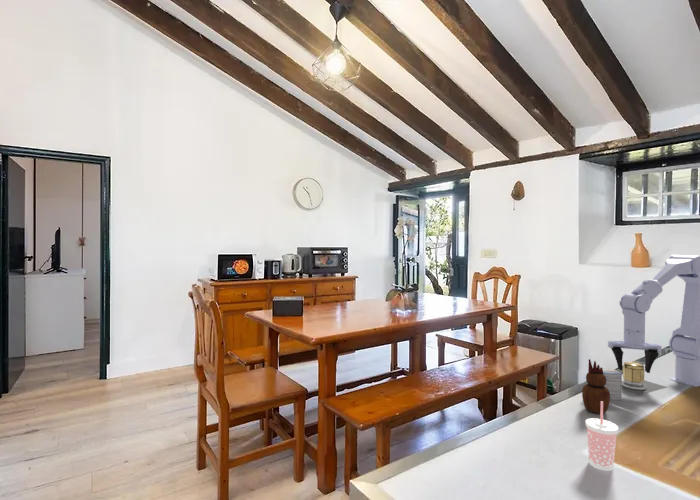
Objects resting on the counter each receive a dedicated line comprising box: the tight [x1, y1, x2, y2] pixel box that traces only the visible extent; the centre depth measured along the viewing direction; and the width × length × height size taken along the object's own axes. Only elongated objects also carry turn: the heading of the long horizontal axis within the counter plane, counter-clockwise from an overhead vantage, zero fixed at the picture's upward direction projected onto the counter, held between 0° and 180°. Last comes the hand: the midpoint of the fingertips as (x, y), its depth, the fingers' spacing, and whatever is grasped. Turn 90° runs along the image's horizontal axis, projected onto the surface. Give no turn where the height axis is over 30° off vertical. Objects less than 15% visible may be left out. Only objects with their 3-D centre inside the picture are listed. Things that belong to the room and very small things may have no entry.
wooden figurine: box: [581, 359, 611, 414], centre depth 114 cm, size 7×6×15 cm
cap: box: [622, 361, 645, 383], centre depth 132 cm, size 5×5×5 cm
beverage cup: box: [585, 401, 619, 472], centre depth 87 cm, size 6×6×14 cm
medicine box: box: [587, 368, 623, 401], centre depth 124 cm, size 8×4×9 cm, turn 84°
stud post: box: [622, 378, 647, 391], centre depth 132 cm, size 7×7×6 cm
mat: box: [621, 379, 667, 396], centre depth 133 cm, size 16×10×1 cm, turn 115°
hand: (633, 370), depth 132 cm, fingers open, 7 cm apart
